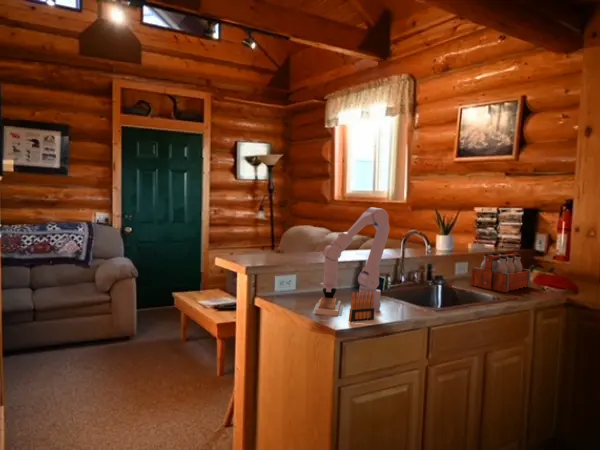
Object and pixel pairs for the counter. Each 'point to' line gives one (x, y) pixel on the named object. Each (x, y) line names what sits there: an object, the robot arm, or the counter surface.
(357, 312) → the ammunition clip
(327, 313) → the bay
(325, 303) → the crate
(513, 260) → the milk bottle holder
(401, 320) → the counter surface
